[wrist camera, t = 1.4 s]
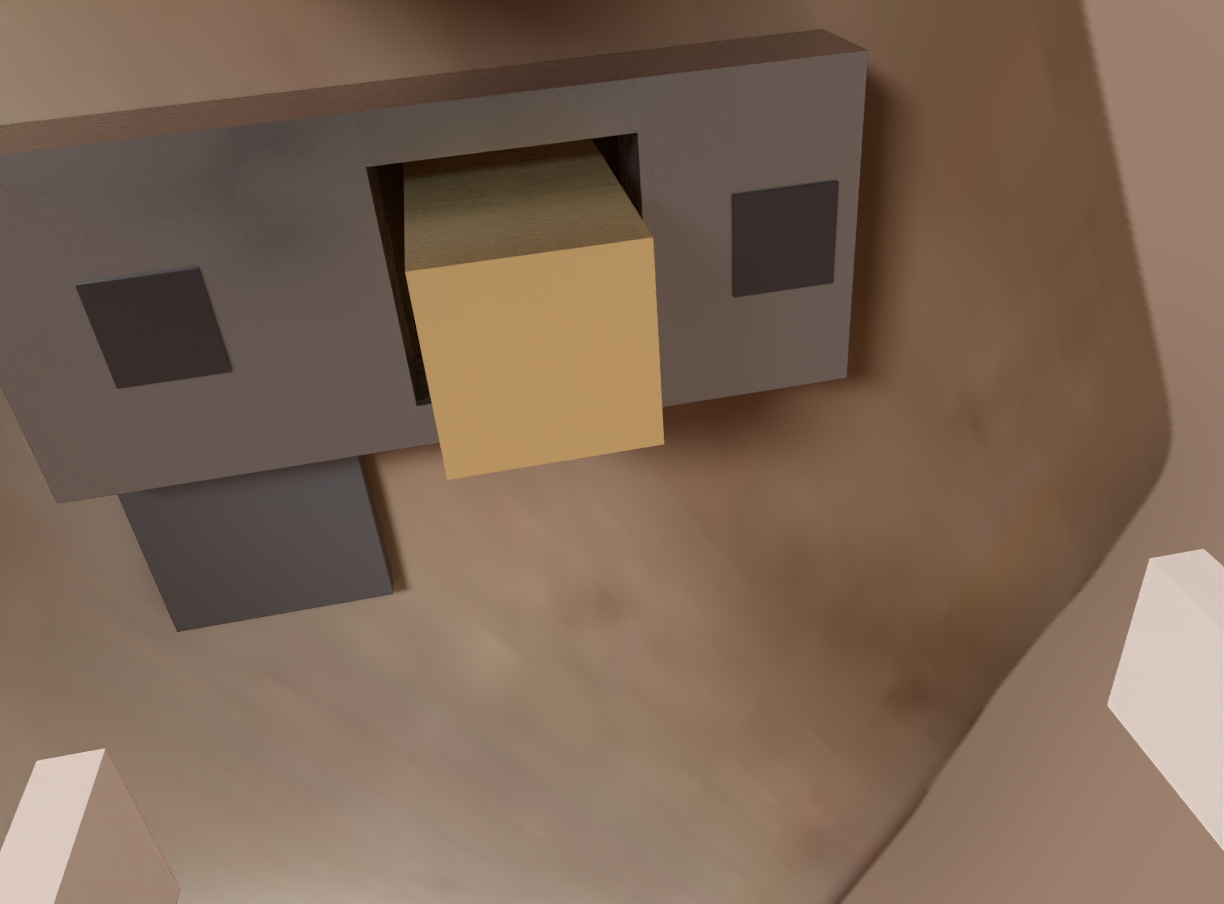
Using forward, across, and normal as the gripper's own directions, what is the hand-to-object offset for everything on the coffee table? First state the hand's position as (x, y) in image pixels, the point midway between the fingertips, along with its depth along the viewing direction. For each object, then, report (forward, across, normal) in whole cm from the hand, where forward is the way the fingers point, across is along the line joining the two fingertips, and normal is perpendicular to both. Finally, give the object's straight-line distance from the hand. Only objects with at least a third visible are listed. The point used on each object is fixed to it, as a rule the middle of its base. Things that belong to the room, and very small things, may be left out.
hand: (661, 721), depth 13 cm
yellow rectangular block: (+18, 0, 0) cm, 18 cm away
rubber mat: (+18, -9, -8) cm, 22 cm away
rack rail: (+18, -2, 0) cm, 18 cm away
